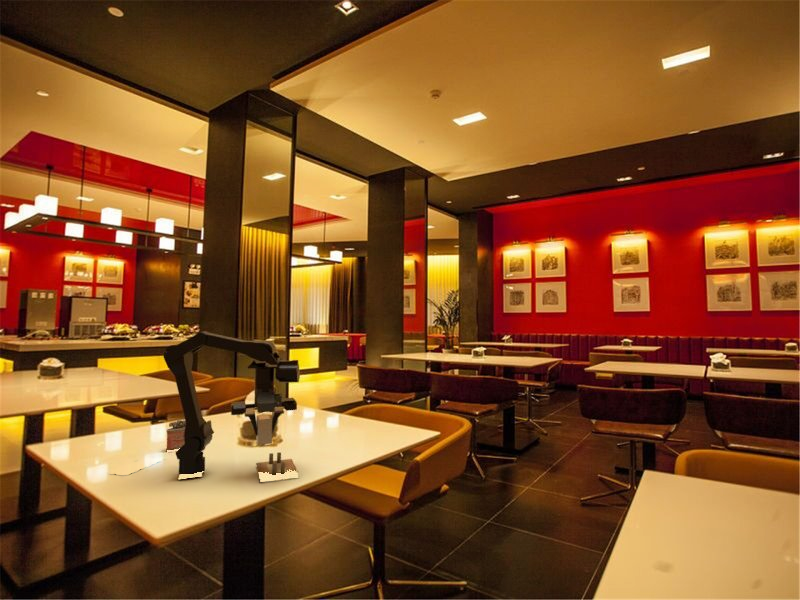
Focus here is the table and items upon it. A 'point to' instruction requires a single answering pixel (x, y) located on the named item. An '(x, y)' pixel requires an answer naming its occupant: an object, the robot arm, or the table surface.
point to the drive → (264, 429)
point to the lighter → (175, 435)
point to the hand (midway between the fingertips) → (264, 434)
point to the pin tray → (276, 465)
